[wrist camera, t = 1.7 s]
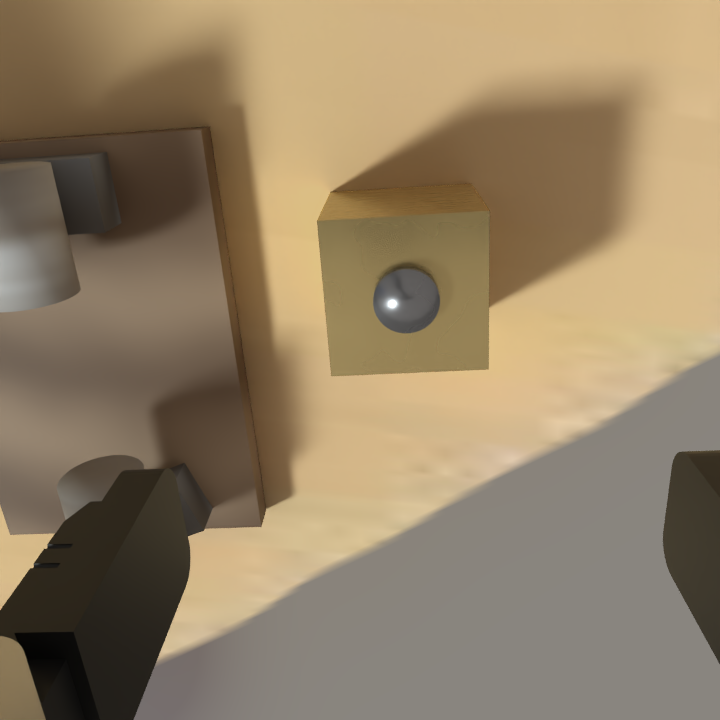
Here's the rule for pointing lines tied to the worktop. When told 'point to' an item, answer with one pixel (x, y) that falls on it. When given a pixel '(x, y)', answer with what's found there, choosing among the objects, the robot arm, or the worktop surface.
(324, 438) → the worktop surface
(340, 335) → the joint block
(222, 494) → the rig
